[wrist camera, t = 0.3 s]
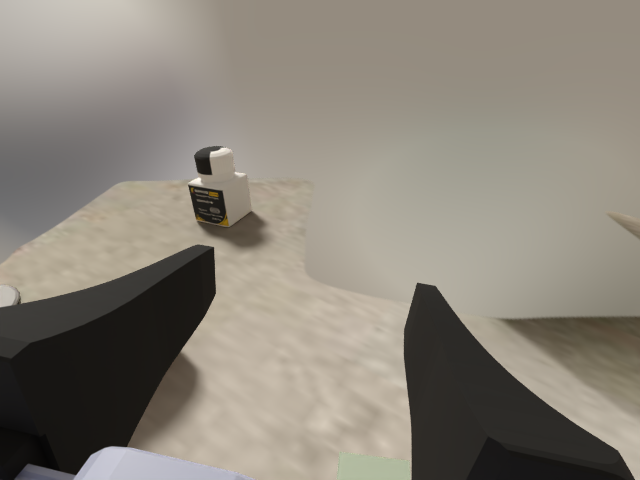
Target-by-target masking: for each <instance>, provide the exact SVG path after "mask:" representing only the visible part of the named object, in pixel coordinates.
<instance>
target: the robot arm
mask: <svg viewBox="0 0 640 480" xmlns="http://www.w3.org/2000/svg"><path fill="white" fill-rule="evenodd" d="M215 294H216V285H215V260H214V247H210V246H204V245H195V246H192V247H190V248H187V249H185V250H183V251H180V252H178V253H176V254H174V255H172V256H169V257H167V258H165V259H163V260H161V261H158V262H156V263H154V264H152V265H150V266H147V267H145V268H142V269H140V270H137V271H135V272H133V273H130V274H128V275H125V276H123V277H120V278H117V279H115V280H112V281H109V282H106V283H103V284H100V285H97V286H94V287H90V288H87V289H84V290H80V291H76V292H72V293H68V294H64V295H60V296H56V297H52V298H48V299H43V300H38V301H33V302H28V303H22V304H17V305H11V306H5V307H0V480H255V479H253V478H250V477H248V476H245V475H243V474H240V473H237V472H233V471H229V470H224V469H220V468H216V467H212V466H207V465H203V464H199V463H195V462H190V461H186V460H182V459H178V458H173V457H169V456H165V455H161V454H156V453H152V452H148V451H143V450H139V449H135V448H129V447H127V445H128V443H129V441H130V439H131V437H132V435H133V433H134V431H135V429H136V427H137V425H138V423H139V421H140V419H141V417H142V415H143V413H144V411H145V409H146V407H147V406H148V404H149V402H150V400H151V398H152V396H153V394H154V393H155V391H156V389H157V387H158V385H159V384H160V382H161V380H162V378H163V376H164V375H165V373H166V372H167V370H168V369H169V367H170V365H171V364H172V363H173V361H174V360H175V358H176V357H177V355H178V354H179V353H180V351H181V350H182V348H183V347H184V345H185V344H186V343H187V341H188V340H189V338H190V337H191V335H192V334H193V333H194V331H195V330H196V328H197V327H198V325H199V324H200V322H201V321H202V319H203V318H204V316H205V314H206V313H207V311H208V309H209V307H210V305H211V303H212V301H213V299H214V296H215ZM404 362H405V371H406V380H407V389H408V398H409V407H410V415H411V432H412V480H635V479H634V477H633V475H632V473H631V472H630V470H629V468H628V467H627V465H626V463H625V461H624V460H623V458H622V457H621V455H620V453H619V452H618V450H616V449H614V448H613V447H611V446H610V445H608V444H606V443H605V442H603V441H602V440H600V439H599V438H597V437H595V436H594V435H592V434H591V433H589V432H587V431H586V430H584V429H583V428H581V427H579V426H578V425H576V424H575V423H573V422H572V421H570V420H569V419H568V418H566V417H565V416H563V415H562V414H561V413H559V412H558V411H556V410H555V409H554V408H552V407H551V406H549V405H548V404H547V403H545V402H544V401H543V400H542V399H540V398H539V397H538V396H536V395H535V394H534V393H533V392H531V391H530V390H529V389H528V388H527V387H525V386H524V385H523V384H522V383H520V382H519V381H518V380H517V379H516V378H515V377H513V376H512V375H511V374H510V373H509V372H508V371H507V370H506V369H505V368H504V367H503V366H502V365H501V364H500V363H498V362H497V361H496V360H495V359H494V358H493V357H492V356H491V355H490V354H489V353H488V352H487V351H486V350H485V348H484V347H483V346H482V345H481V344H480V343H479V342H478V341H477V340H476V338H475V337H474V336H473V335H472V334H471V333H470V331H469V330H468V329H467V328H466V327H465V325H464V324H463V323H462V322H461V320H460V319H459V318H458V316H457V315H456V314H455V312H454V311H453V310H452V308H451V307H450V306H449V304H448V303H447V301H446V300H445V299H444V297H443V296H442V294H441V293H440V292H439V290H438V289H437V287H436V286H432V285H427V284H421V283H417V285H416V289H415V292H414V296H413V300H412V303H411V307H410V310H409V314H408V318H407V321H406V325H405V329H404Z"/></svg>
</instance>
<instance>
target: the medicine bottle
mask: <svg viewBox="0 0 640 480" xmlns="http://www.w3.org/2000/svg"><path fill="white" fill-rule="evenodd" d="M194 158H195V162H196V167H197V172H198V176H199V178H197V179H195V180H193V181H191V182H189V183H188V186H189V190H190V195H191V199H192V204H193V208H194V212H195V217H196V220H197V221H200V222H205V223H210V224H214V225H219V226H224V227H230V226H231V225H233V224H234V223H236V222H237V221H238V220H240V219H241V218H243V217H244V216H245V215H247V214H248V213H249V212H251V211H252V206H251V199H250V192H249V185H248V178H247V175H246V174H243V173H236V172H235V167H234V159H233V153H232V151H231V150H230V149H229V148H226V147H221V146H213V147H207V148H203V149H201V150H199V151H198V152H196V154H195V155H194Z"/></svg>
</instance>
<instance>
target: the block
mask: <svg viewBox="0 0 640 480" xmlns="http://www.w3.org/2000/svg"><path fill="white" fill-rule="evenodd" d="M337 480H410V462H409V461H408V460H400V459H392V458H385V457H377V456H369V455H361V454H353V453H346V452H339V462H338V471H337Z"/></svg>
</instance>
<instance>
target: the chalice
mask: <svg viewBox="0 0 640 480" xmlns="http://www.w3.org/2000/svg"><path fill="white" fill-rule="evenodd" d="M19 299H20V292H19V291H18V290H17V289H16V288H14V287H12V286H9V285H2V284H0V307H5V306H11V305H17V304H18V301H19Z"/></svg>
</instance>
